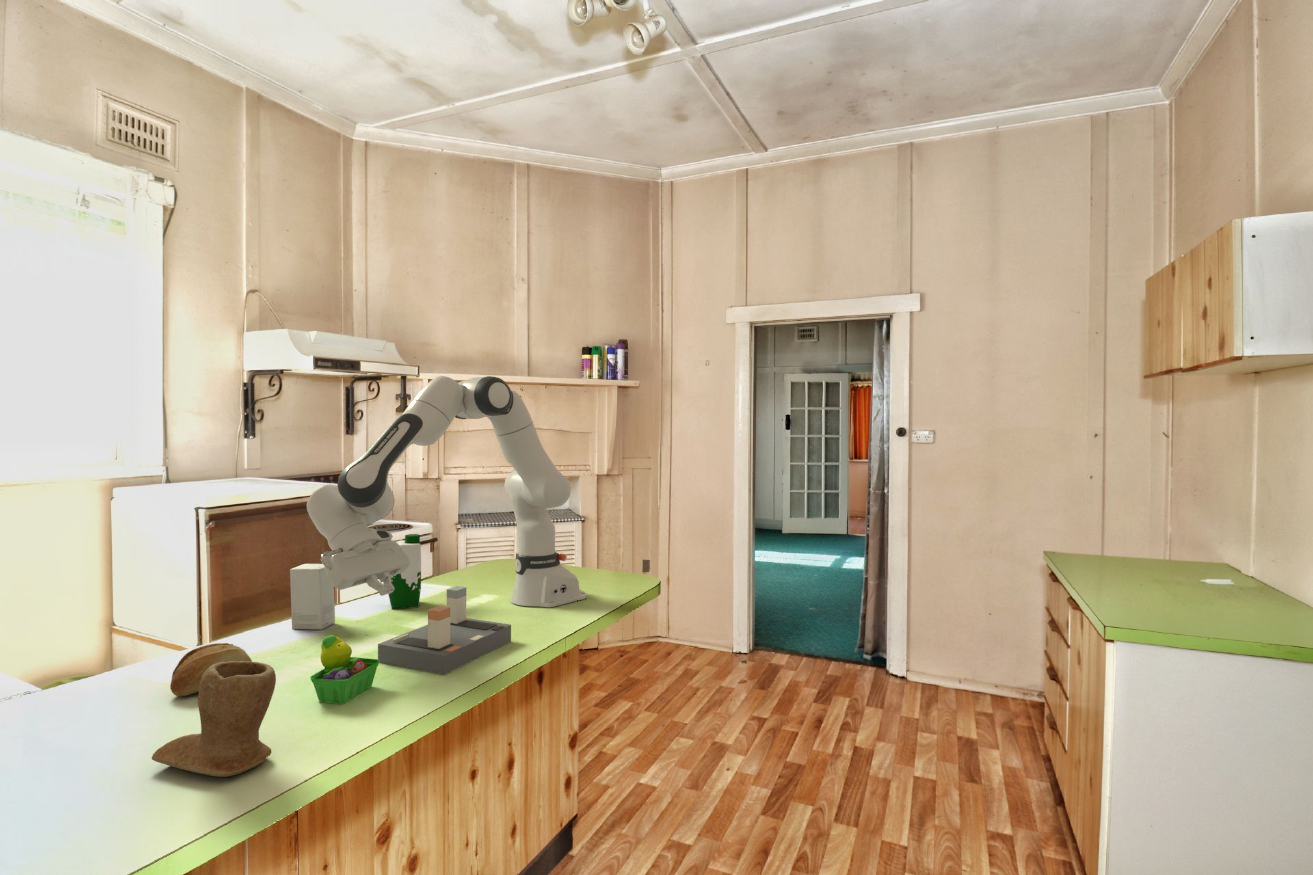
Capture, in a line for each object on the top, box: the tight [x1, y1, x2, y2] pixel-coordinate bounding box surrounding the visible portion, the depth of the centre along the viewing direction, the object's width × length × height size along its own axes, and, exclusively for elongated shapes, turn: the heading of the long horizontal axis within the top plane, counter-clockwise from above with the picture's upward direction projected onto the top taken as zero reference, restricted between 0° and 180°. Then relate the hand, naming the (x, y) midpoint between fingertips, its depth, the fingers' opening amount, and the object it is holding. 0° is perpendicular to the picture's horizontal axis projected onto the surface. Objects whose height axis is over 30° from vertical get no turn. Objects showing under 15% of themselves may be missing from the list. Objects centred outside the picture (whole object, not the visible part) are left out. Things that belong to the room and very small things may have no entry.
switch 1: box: [427, 605, 450, 649], centre depth 145 cm, size 4×3×8 cm
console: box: [377, 617, 512, 676], centre depth 155 cm, size 24×18×5 cm
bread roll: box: [169, 642, 253, 697], centre depth 133 cm, size 10×15×8 cm, turn 156°
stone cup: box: [151, 661, 277, 778], centre depth 103 cm, size 15×12×15 cm
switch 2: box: [446, 585, 467, 624], centre depth 163 cm, size 4×3×8 cm
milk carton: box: [388, 533, 422, 610], centre depth 192 cm, size 9×9×20 cm
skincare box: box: [289, 563, 336, 631], centre depth 172 cm, size 8×7×16 cm
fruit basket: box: [310, 634, 380, 705], centre depth 130 cm, size 11×9×11 cm
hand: (388, 592), depth 151 cm, fingers closed
